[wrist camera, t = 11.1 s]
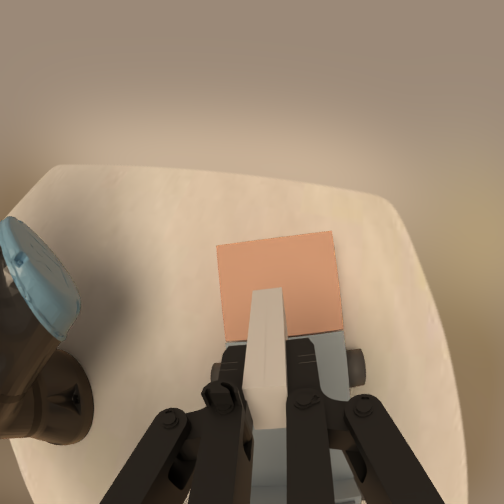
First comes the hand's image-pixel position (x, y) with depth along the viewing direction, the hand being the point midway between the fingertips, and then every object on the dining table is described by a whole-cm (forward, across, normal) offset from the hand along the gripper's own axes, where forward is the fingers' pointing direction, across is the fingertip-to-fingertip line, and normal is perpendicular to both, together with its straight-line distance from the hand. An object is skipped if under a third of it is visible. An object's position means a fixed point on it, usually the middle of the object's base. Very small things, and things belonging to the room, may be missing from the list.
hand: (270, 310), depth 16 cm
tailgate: (+10, 0, -11) cm, 15 cm away
